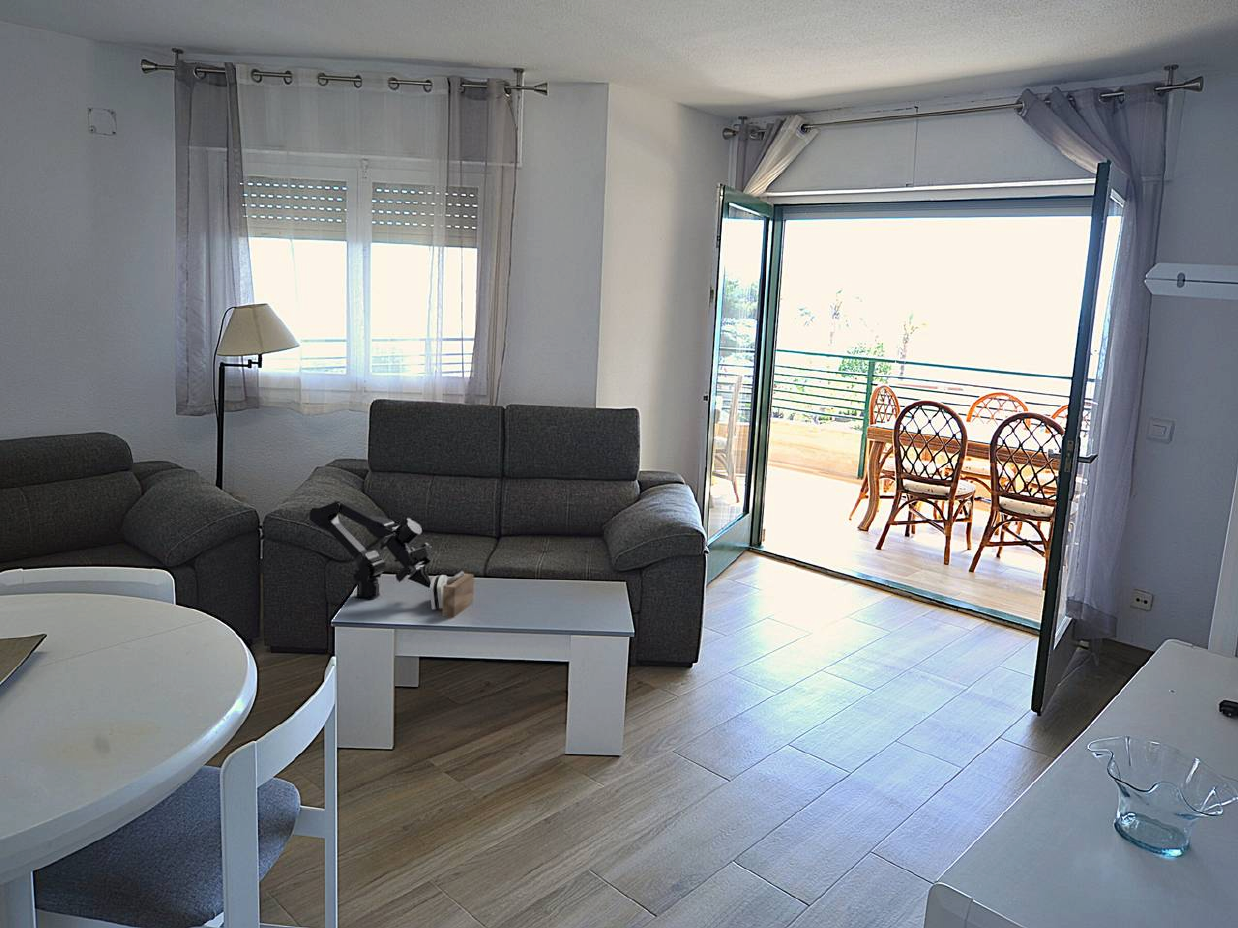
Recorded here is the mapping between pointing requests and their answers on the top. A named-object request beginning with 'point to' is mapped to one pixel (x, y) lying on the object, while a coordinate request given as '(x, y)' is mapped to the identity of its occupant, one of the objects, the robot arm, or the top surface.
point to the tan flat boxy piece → (457, 594)
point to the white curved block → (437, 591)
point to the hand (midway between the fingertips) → (430, 587)
